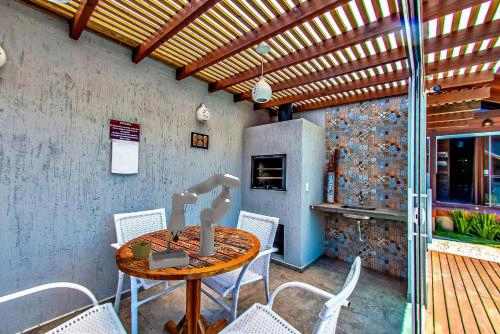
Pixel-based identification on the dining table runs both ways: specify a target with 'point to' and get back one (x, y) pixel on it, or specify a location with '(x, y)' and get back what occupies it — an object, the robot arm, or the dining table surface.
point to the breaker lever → (168, 244)
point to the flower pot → (141, 250)
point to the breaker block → (168, 259)
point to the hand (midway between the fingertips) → (175, 241)
